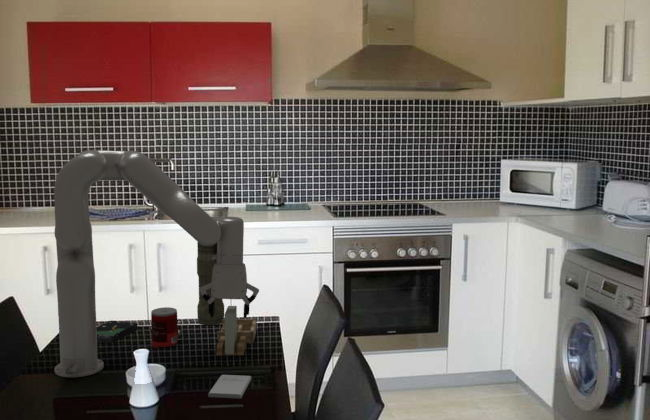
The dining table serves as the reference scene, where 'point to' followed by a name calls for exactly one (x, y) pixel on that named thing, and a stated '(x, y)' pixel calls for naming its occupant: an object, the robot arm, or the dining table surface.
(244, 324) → the rack
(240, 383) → the external hard drive
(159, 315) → the canned food
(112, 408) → the dining table surface
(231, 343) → the grey-green flat slab
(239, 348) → the stand
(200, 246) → the thermos
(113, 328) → the disk drive
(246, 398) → the dining table surface
